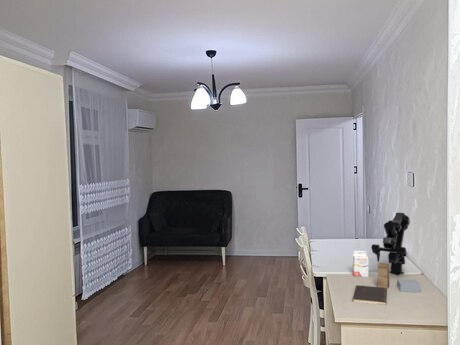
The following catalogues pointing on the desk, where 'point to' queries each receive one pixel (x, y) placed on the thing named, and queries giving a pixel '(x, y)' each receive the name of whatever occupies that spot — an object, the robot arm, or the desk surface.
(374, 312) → the desk surface
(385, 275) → the walnut post
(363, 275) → the ink cartridge box
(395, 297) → the desk surface
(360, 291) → the hardcover book
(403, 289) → the slate plinth
